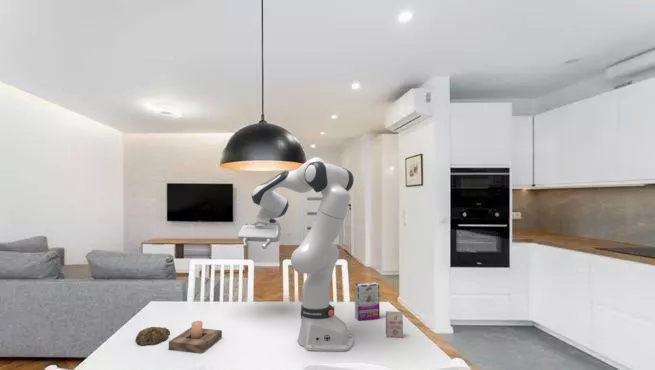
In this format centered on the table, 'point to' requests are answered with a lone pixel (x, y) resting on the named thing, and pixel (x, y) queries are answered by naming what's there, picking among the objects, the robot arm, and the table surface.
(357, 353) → the table surface
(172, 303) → the table surface
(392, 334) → the white red box
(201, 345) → the pin board
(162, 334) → the bread roll
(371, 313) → the candy bar box
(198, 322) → the pin
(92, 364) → the table surface
